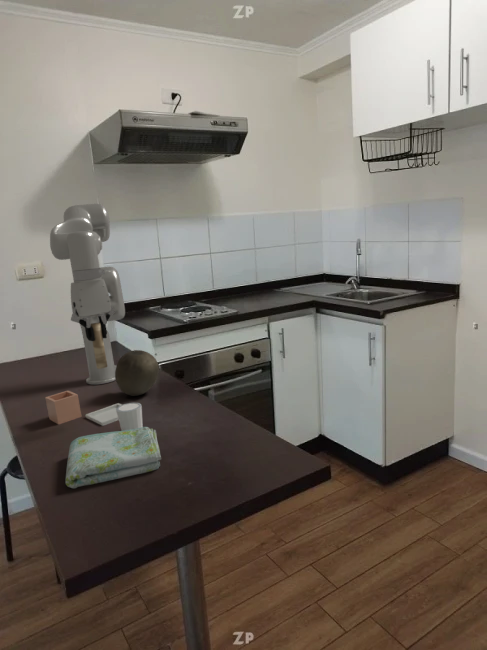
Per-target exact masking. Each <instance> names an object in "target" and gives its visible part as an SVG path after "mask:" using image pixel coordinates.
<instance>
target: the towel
mask: <svg viewBox="0 0 487 650" xmlns="http://www.w3.org/2000/svg"><path fill="white" fill-rule="evenodd" d="M157 436H158V435H157V430H156V429H153V428H150V427H148V426H143V427H141V428H137V429H132V430H124V431H121V430H116V431H109V432H101V433H99V432H98V433H93V434H87V435H82V436H79V437H77V438H75V439H74V440H72V441H71V442H70V445H69V449H68V450H69V451H68V457H67V462H66V463H67V464H66V470H65V471H66V473H65V485H66V486H67V487H68V488H71V489H77V488H80V487H83V486H90V485H94V484H95V485H96V484H99V483H105V482H108V481H113V480H117V479H122V478H127V477H131V476H135V475H140V474H145V473H149V472H153V471H156V470H158V469H160V468H159V467H161V462H160V460H162V456H161V450H160V446H159V443H158V438H157Z"/></svg>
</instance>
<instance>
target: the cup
mask: <svg viewBox="0 0 487 650" xmlns="http://www.w3.org/2000/svg"><path fill="white" fill-rule="evenodd" d="M44 399H45V402H46V403H45V404H46V408H47V415H48V418H49V421H52V422H53V423H55V424H57V425H62V424H64V423H68V422H70V421H73V420H76V419H79V418H81V417H83V416H82V411H81V406H80V400H79V395H78V394H77V393H75V392H73V391H71V390H65V391H62V392H58V393H55V394H52V395H49V396H45V398H44Z"/></svg>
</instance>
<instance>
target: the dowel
mask: <svg viewBox="0 0 487 650" xmlns="http://www.w3.org/2000/svg"><path fill="white" fill-rule="evenodd" d="M91 327H93V330H94V336H95V341H92V342H93V348H94V354H95V360H96V366H97V368H98V369H101V368H106V367H107V360H106V354H105V348H104V342H103V336H102V330H101V324H100V323H92V324H91Z"/></svg>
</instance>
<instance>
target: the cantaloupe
mask: <svg viewBox="0 0 487 650" xmlns="http://www.w3.org/2000/svg"><path fill="white" fill-rule="evenodd" d="M116 366H117V367H116V370H115V378H116V380H115V381H116V384H117V386H118V388H119V390H120V391H121V392H123V393H124V394H125V395H127V396H131V397H138V396H141V395H143V394H145V393H147V392H148V391H150V389H152V387H153V386H154V384H156V382H157V380H158V376H159V373H160V367H159V363H158V361H157V359H156V358H155V356H154V355H153V354H152V353H150V352H148V351H145V350H141V349H140V350H139V349H134V350H131V351H128V352H125V353H124V354H123V355H122V356H121V357H120V358H119V360H118V361H117V364H116Z"/></svg>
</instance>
